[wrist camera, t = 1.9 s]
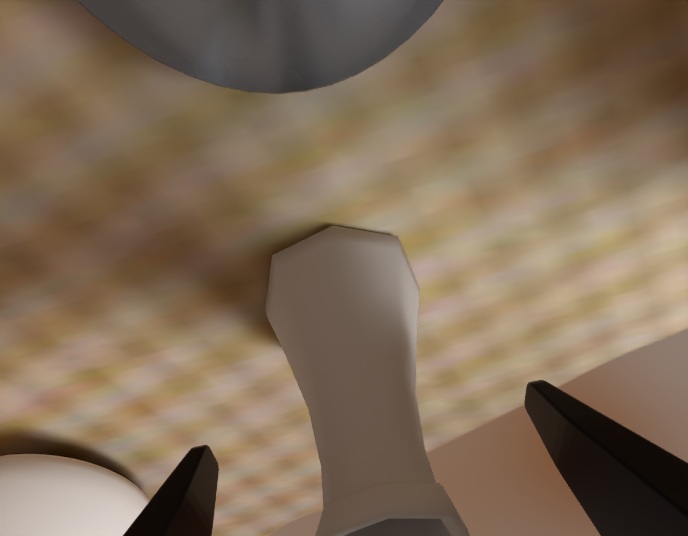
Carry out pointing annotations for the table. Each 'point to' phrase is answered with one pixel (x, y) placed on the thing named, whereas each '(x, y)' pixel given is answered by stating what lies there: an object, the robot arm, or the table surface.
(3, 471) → the flower in vase
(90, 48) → the table surface
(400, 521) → the flask
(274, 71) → the biscuit tin
